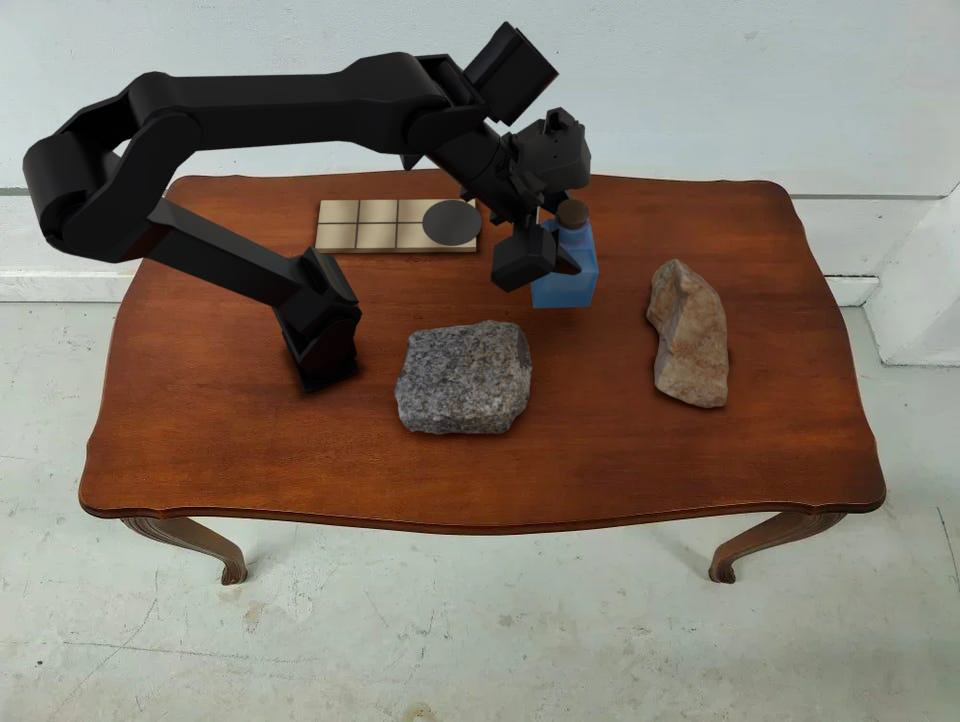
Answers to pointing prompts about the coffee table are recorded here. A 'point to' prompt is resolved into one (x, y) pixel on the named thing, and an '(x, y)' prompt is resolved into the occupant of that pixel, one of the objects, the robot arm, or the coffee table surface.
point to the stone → (689, 336)
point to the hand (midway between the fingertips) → (579, 247)
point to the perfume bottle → (581, 248)
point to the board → (397, 226)
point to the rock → (464, 378)
